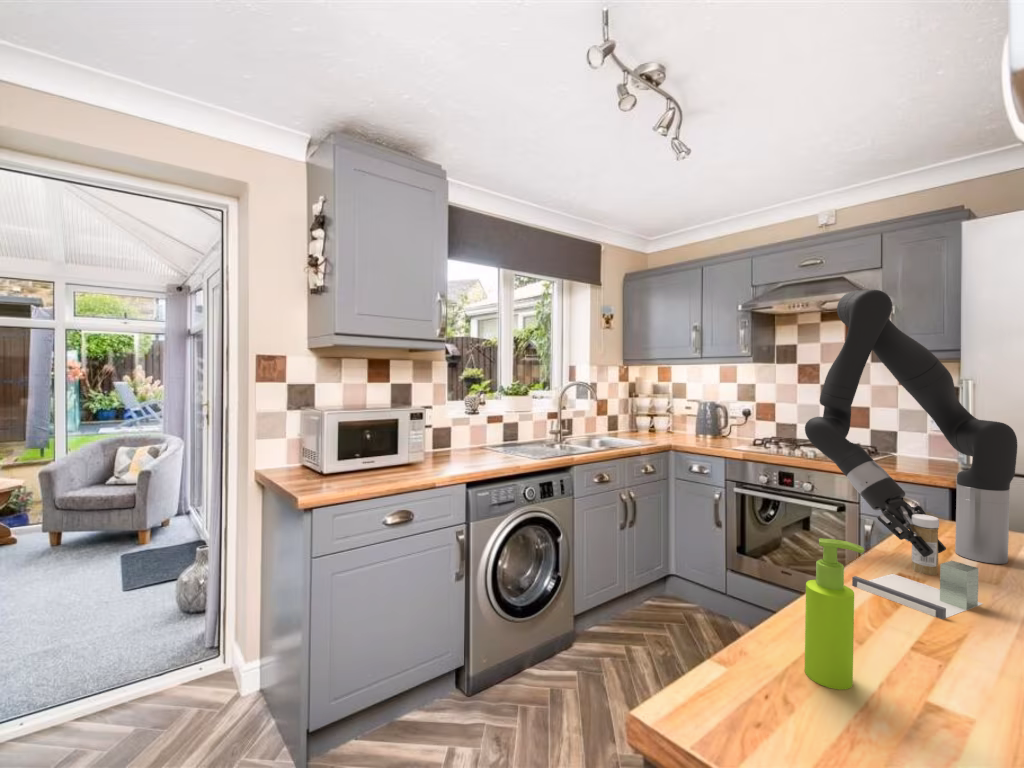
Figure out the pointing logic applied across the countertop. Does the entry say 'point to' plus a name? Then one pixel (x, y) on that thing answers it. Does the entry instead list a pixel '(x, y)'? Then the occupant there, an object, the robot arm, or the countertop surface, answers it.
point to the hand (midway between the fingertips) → (935, 552)
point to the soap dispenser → (830, 620)
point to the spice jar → (929, 534)
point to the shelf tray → (909, 594)
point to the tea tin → (959, 584)
